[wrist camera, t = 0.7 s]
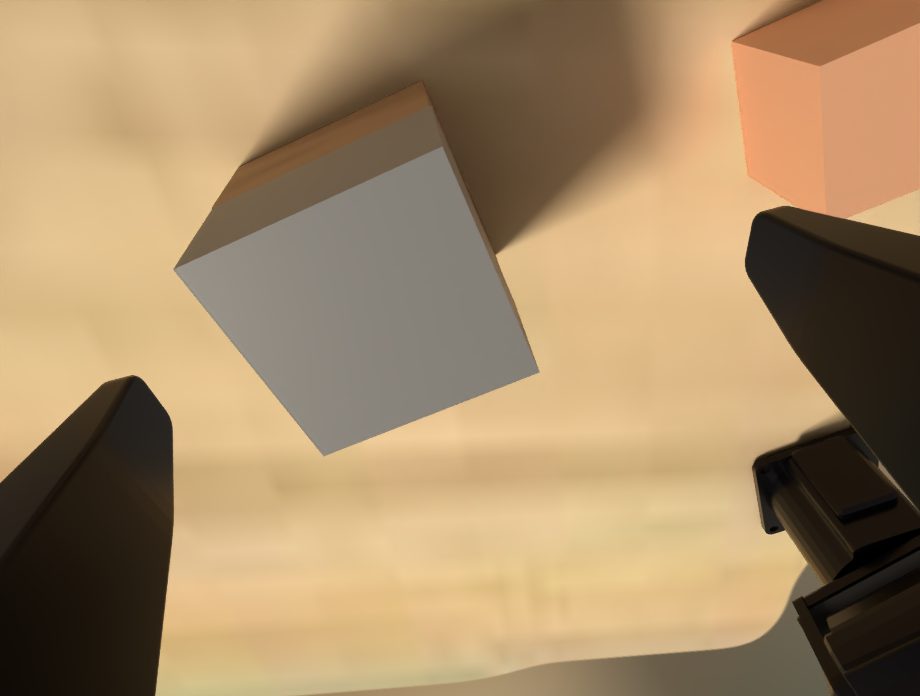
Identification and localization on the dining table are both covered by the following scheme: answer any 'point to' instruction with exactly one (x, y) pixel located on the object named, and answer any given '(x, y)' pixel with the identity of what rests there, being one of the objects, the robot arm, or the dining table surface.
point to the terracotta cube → (833, 104)
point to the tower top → (362, 286)
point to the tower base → (331, 141)
